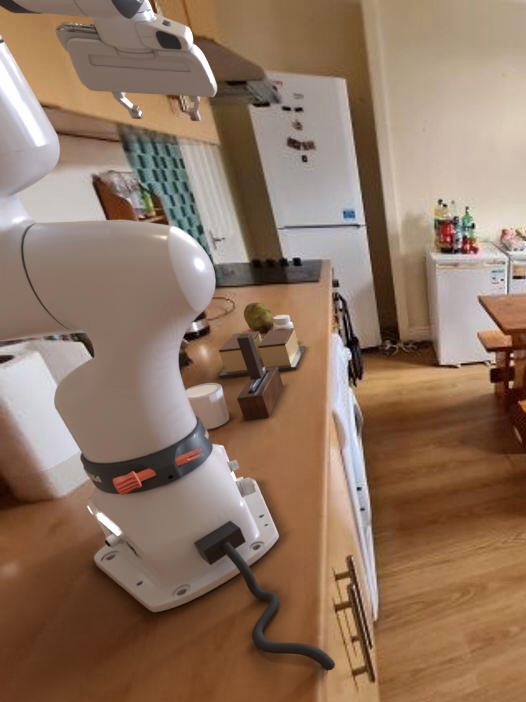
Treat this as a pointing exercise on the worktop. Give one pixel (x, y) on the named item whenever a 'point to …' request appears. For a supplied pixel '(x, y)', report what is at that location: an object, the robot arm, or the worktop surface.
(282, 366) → the cake
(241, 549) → the robot arm
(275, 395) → the knife block
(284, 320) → the pill bottle
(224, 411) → the white cylinder
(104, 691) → the worktop surface
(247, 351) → the knife
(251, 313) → the kiwi fruit
